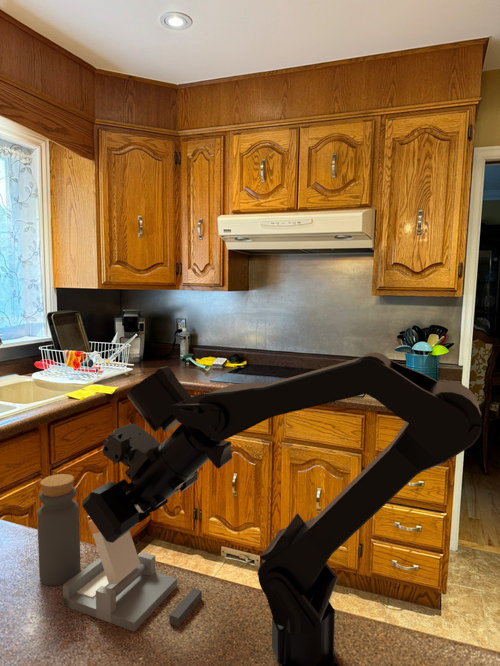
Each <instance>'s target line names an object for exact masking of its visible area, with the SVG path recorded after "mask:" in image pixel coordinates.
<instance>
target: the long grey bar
mask: <svg viewBox="0 0 500 666" xmlns="http://www.w3.org/2000/svg"><path fill="white" fill-rule="evenodd" d="M202 592H203V591H202V590H200V589H197V588H194V587H193V588H192V589H191V590H190V591H189V592H188V593H187V594H186V595H185V597H184V598H183V599H182V600H181V601H180V603H178V605H177V606H176V607H175V608H174V609H173V611H172V612H171V613H170V614H169V615H168V616H169V618H168V619H169V625H172V626H176V627H180V626H181V624H182V623H183V622H184V621H185V620H186V619H187V618H188V617H189V615H190V614H191V612H192V611H193V610H194V609H195V607H196V606H198V604H199V603H200V602H201V601H202V598H203V596H202V595H203V593H202Z"/></svg>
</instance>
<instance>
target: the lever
mask: <svg viewBox="0 0 500 666" xmlns="http://www.w3.org/2000/svg"><path fill="white" fill-rule="evenodd" d="M87 523H88V526H89V529H90V533H91V535H92V537H93V541H94V543H95V546H96V549H97V553H98V556H99V558H100V559H101V562H102V565H103V568H104V571H105V574H106V577H107V580H108V583H109V585H111V584H117V583H118V584H117V585H115V586H114V587H113V588H112V589H113V590H116V597H117V596H118V595H119V594H120V593H121V592H122V591H123V590H124V589H125V588H127V587H128V586H129V585H130V584H131V583H132V582H133V581H134V580H135V579H137V578H138V577H139V576H140V575H141V574H142V573H143V572H144V571H145V570H146V568H145V565H144V564H140V561H139V558H138V555H139V554H138V552H137V550H136V547H135V543H134V541H133V538H132V534H131V530H129V531H128V532H127V533H125V534H124V535H123V536H121V537H120V538H119V539H117V540H116V541H115V542H113V543H111V542H107V541H106V540H105V538H104V537H103V535H102V534H101V532H100V531H99V530H98V528H97V527H96V525H95V524H94V522H93V521H92V519H91V518H90V520H88V521H87ZM139 564H140V565H139ZM138 565H139V566H138ZM131 571H132V572H131ZM124 577H125V578H124ZM123 578H124V579H123Z"/></svg>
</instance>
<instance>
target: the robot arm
mask: <svg viewBox="0 0 500 666" xmlns="http://www.w3.org/2000/svg"><path fill="white" fill-rule="evenodd" d="M362 395H367V396H369V397H370V398H372V399H375V400H376V401H378V403H380V404H381V405H383V406H384V407H385V408H386V409H388V410H389V411H390V412H392V413H393V414H394V415H395V416H397V417H398V418H400V419H401V420H402V421H404V423H403V425H402V426H401V428H400V429H399V431H398V433H396V435H395V437H394V438H393V440H392V441H391V442H390V443H389V444H388V445H387V446H386V447H385V448H384V449H383V450H382V451H381V452H380V453H379V454H378V455H377V456H376V457H375V458H374V459H373V460H372V461H371V462H370V463H369V464H367V466H366V467H365V468H363V470H362V471H360V473H359V474H358V475H357V476H356V477H355V478H354V479H352V480H351V481H350V482H349V483H348V485H346V487H344V489H343V490H341V492H339V493H338V495H336V496H335V498H333V500H331V501H330V503H328V504H327V506H325V507H324V508H323V509H322V510H321V511H320V512H319V513H318V514H317V515H316V516H315V517H313V518H311V519H308V520H305V521H304V519H303V517H301V515H300V514H299V513H298V512H297V513H296V514H295V515H294V517H293V518H292V520H291V521H290V522H289V524H288V525H287V526H286V527H285V528H281V529H279V530H278V532H276V534H275V536H274V537H273V539H271V541H270V543H269V544H268V545H267V547H266V548H265V549H264V551H263V552H262V553H261V555H260V557H259V558H260V560H262V562H261V564H260V566H259V567H258V570H257V576H258V583H259V586H260V588H261V590H262V592H263V593H264V595H265V597H266V599H267V604H268V607H269V609H270V612H271V616H272V617H271V649H272V651H273V655H274V658H275V660H276V662H277V664H278V665H280V666H341V665H340V662H339V660H338V658H337V657H336V655H335V628H336V627H335V623H336V620H335V619H336V610H335V609H334V606H333V605H332V604H331V602H330V599H331V597H332V595H333V592H334V589H335V587H336V584H337V581H339V580H338V579H339V577H338V575H337V574H336V573H335V572H334V570H333V569H332V568H331V567H330V565H329V564H328V561H329V560H330V558H331V557H332V555H333V554H335V552H336V551H337V550H338V549H339V548H340V547H341V546H343V545H344V544H345V543H346V542H347V541H348V540H349V539H350V538H351V537H352V536H354V534H355V533H356V532H357V531H359V530H360V529H361V528H362V527H363V526H364V525H365V524H366V523H367V522H368V521H370V519H371V518H372V517H374V515H376V514H377V513H378V512H379V511H380V510H382V508H383V507H384V506H385V505H386V504H387V503H389V502H390V500H392V499H393V498H394V497H395V496H397V494H398V493H399V492H400V491H402V489H403V488H404V487H406V486H407V485H408V484H409V483H410V482H411V481H412V480H413V479H414V478H415V477H416V476H417V475H420V474H421V473H422V472H424V471H427V470H430V469H432V468H436V467H438V466H440V465H442V464H445V463H446V462H448V461H450V460H452V459H453V458H455V457H457V456H458V455H459V454H462V453H463V452H464V451H466V450H468V449H469V448H470V447H472V446H473V445H474V444H476V442H477V440H478V439H479V438H480V436H481V434H482V432H483V429H482V428H483V421H482V420H483V419H482V414H481V410H480V406H479V405H480V404H479V403H478V399H477V396H475V394H474V393H473V392H472V391H471V390H470V389H469V388H468V387H467V386H465V385H464V384H462V383H459V382H455V381H452V380H451V381H450V380H448V381H438V380H436V379H434V378H432V377H431V376H429V375H426V374H425V373H422V372H421V371H418V370H416V369H413V368H410V367H408V366H406V365H403V364H400V363H398V362H397V361H394V360H393V359H391V358H389V357H387V356H386V355H385V354H383V353H381V352H377V351H374V352H367V353H366V354H363V355H362V356H360V357H358V358H354V359H350V360H347V361H344V362H340V363H336V364H333V365H329V366H326V367H323V368H319V369H316V370H315V369H314V370H312V371H308V372H305V373H301V374H298V375H295V376H292V377H287V378H284V379H279V380H277V381H272V382H247V383H245V382H244V383H235V384H228V385H226V386H223V387H220V388H219V389H217V390H214V391H211V392H201V393H199V394H197V395H194V396H191V394H190V392H188V391H187V389H186V388H185V387H184V385H182V383H181V382H180V380H178V377H176V375H175V372H174V371H173V370H172V369H171V367H170V366H168V365H166V366H163V367H158V369H157V370H156V371H155V372H154V373H152V374H150V375H149V376H146V378H144V379H142V380H141V381H140V382H139V383H137V384H134V385H133V386H132V387H131V388H130V390H129V391H128V393H127V398H128V399H129V401H130V402H131V404H132V405H133V406H134V408H135V409H136V410H137V412H138V413H139V414H140V415H141V417H142V418H143V420H144V421H145V422H146V423H147V424H148V426H149V427H150V429H151V430H152V431H154V432H155V433H156V432H158V431H159V430H160V429H162V431H163V432H164V433H166V432H168V431H170V430H171V429H173V428H175V427H177V426H178V427H177V428H176V429H175V430H173V431H172V433H170V435H168V437H167V438H166V439H165V440H164V441H162V442H161V443H160V442H159V441H158V440H157V439H156V437H154V436H153V435H152V434H150V433H149V432H147V431H146V430H145V429H143V428H142V427H140V426H138V425H137V424H134V423H129V424H126V425H123V426H121V427H118V428H116V429H114V430H113V432H112V433H110V434H108V436H107V438H106V439H104V440H103V441H102V444H103V448H102V453H103V455H104V456H105V458H107V459H109V460H110V461H111V462H113V463H114V464H118V463H121V464H122V465H124V466H125V467H128V468H127V469H126V471H124V473H125V476H127V478H128V479H129V481H130V482H128V480H127V479H126V478H123V479H122V480H119V481H118V482H113V481H108V482H107V483H105V484H103V485H101V486H99V487H98V488H95V489H94V490H91V492H90V493H88V495H87V496H86V497H85V498H84V499H82V505H81V506H82V508H83V510H84V511H85V512H86V513H87V515H88V516H89V518H90V520H91V519H92V521H93V522H94V524H95V525H96V527H97V528H98V530H99V531H100V532H101V534H102V535H103V537H104V538H105V540H106V541H107V542H111V543H113V542H115V541H116V540H117V539H119V538H120V537H121V536H123V535H124V534H125V533H127V532H128V531H131V530H132V529H133V528H134V527H135V526H136V525H137V524H140V523H141V522H143V521H144V520H146V519H147V518H148V517H150V516H151V515H152V512H156V511H158V510H159V509H161V508H162V507H163V506H165V505H166V504H168V501H169V500H168V499H169V498H171V497H172V496H173V495H174V494H176V493H177V492H178V491H179V492H180V493H183V492H184V491H186V490H187V489H188V488H190V487H191V486H192V485H193V484H194V483H195V482H196V481H197V480H198V470H199V469H201V467H203V466H204V464H206V463H207V462H208V461H211V463H212V465H213V466H214V467H215V468H216V469H220V468H222V467H223V466H225V465H226V464H227V463H229V462H230V461H232V459H233V453H232V452H233V451H232V448H231V447H232V442H231V441H229V440H228V439H230V438H231V437H235V436H236V435H238V434H240V433H243V432H244V431H247V430H249V429H250V428H252V427H254V426H256V425H258V424H260V423H262V422H264V421H266V420H269V419H271V418H273V417H277V416H281V415H285V414H290V413H293V412H297V411H302V410H307V409H309V408H314V407H317V406H322V405H325V404H330V403H333V402H334V403H335V402H338V401H342V400H346V399H350V398H354V397H358V396H362ZM178 424H179V425H178Z"/></svg>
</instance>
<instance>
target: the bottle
mask: <svg viewBox="0 0 500 666" xmlns="http://www.w3.org/2000/svg"><path fill="white" fill-rule="evenodd" d="M74 477H75V476H73V475H72V474H69V473H68V474H67V473H58V474H57V473H56V474H52V475H49V476H46V477H45V478H43V479H42V480H41V481H40V487H41V491H40V492H39V495H38V497H39V498H38V499H39V502H40V504H42V505H41V506H40V507H39V508H38V510H37V512H36V513H37V514H36V515H37V544H38V545H37V547H38V548H37V549H38V550H37V551H38V569H39V570H38V571H39V572H38V573H39V581H40V582H41V583H42V584H43V585H46V586H61V585H62V586H63V585H64V584H65V583H66V582H68V581H69V580H70V579H72V578H73V577H74V576H76V575H77V574H78V573H80V572H81V533H80V532H81V530H80V526H81V525H80V507H79V503H78V501H75V500H74V499H75V497H76V495H77V490H76V487H75V486H74V482H75V478H74Z"/></svg>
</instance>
